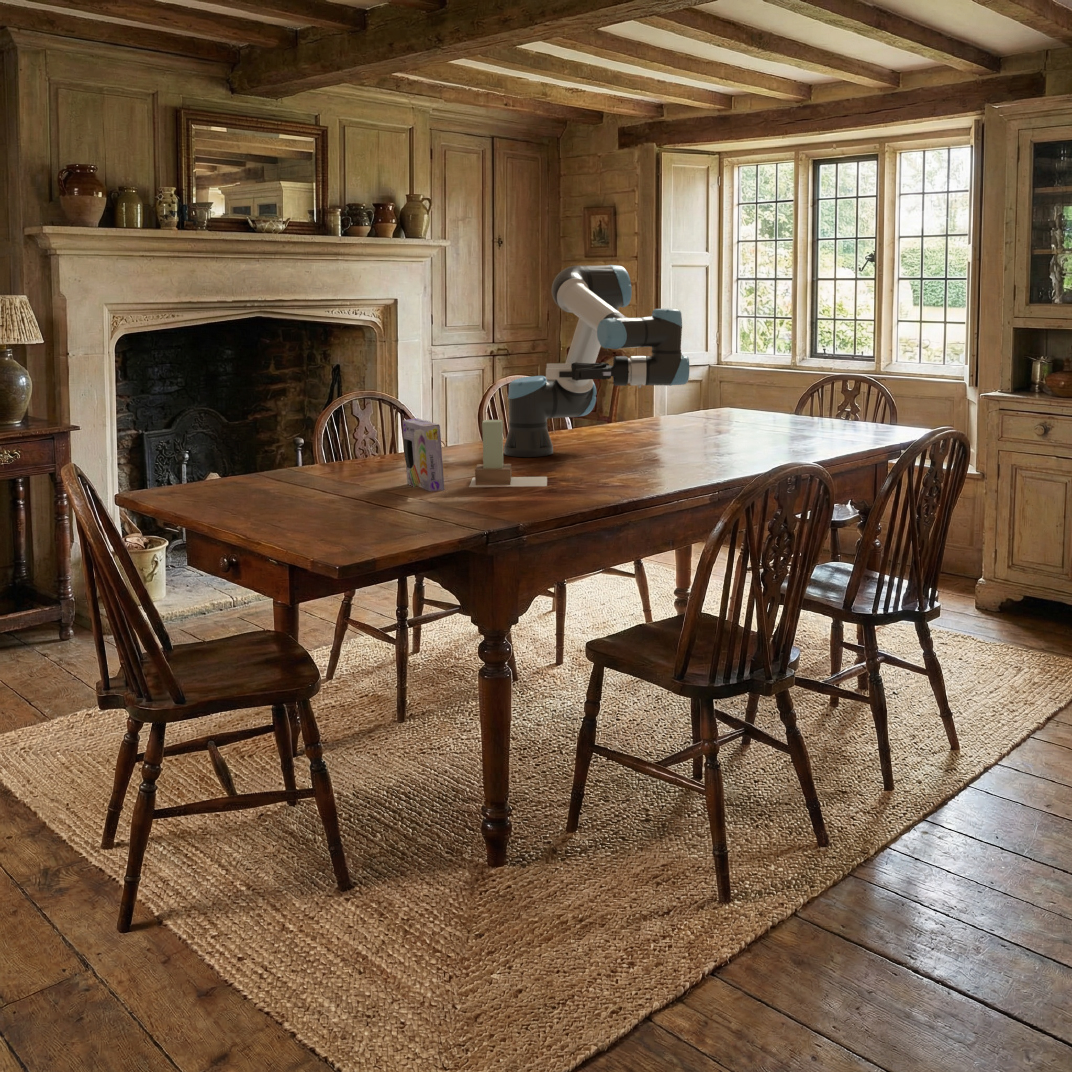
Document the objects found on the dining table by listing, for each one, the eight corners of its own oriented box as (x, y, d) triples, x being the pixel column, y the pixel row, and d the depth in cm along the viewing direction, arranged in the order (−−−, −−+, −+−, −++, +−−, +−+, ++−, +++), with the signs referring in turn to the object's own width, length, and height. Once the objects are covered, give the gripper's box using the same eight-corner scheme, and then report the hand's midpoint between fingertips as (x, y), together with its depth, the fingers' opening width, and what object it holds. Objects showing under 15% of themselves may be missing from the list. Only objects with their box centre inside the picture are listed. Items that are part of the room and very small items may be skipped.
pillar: (484, 465, 306) (483, 420, 304) (503, 465, 306) (502, 419, 304) (483, 468, 302) (482, 422, 299) (502, 468, 302) (501, 422, 299)
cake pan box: (403, 483, 310) (401, 417, 306) (421, 482, 312) (419, 416, 308) (426, 495, 293) (424, 425, 289) (445, 493, 295) (443, 424, 291)
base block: (477, 479, 309) (477, 464, 308) (511, 478, 309) (511, 463, 308) (475, 485, 301) (475, 469, 300) (510, 484, 300) (509, 469, 300)
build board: (472, 481, 312) (472, 477, 312) (547, 480, 312) (547, 476, 311) (469, 490, 298) (469, 486, 298) (546, 489, 298) (546, 486, 298)
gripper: (631, 391, 288) (545, 391, 289) (625, 380, 312) (546, 380, 313) (631, 360, 286) (545, 361, 287) (626, 352, 311) (546, 352, 311)
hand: (546, 371), depth 300 cm, fingers open, 13 cm apart
